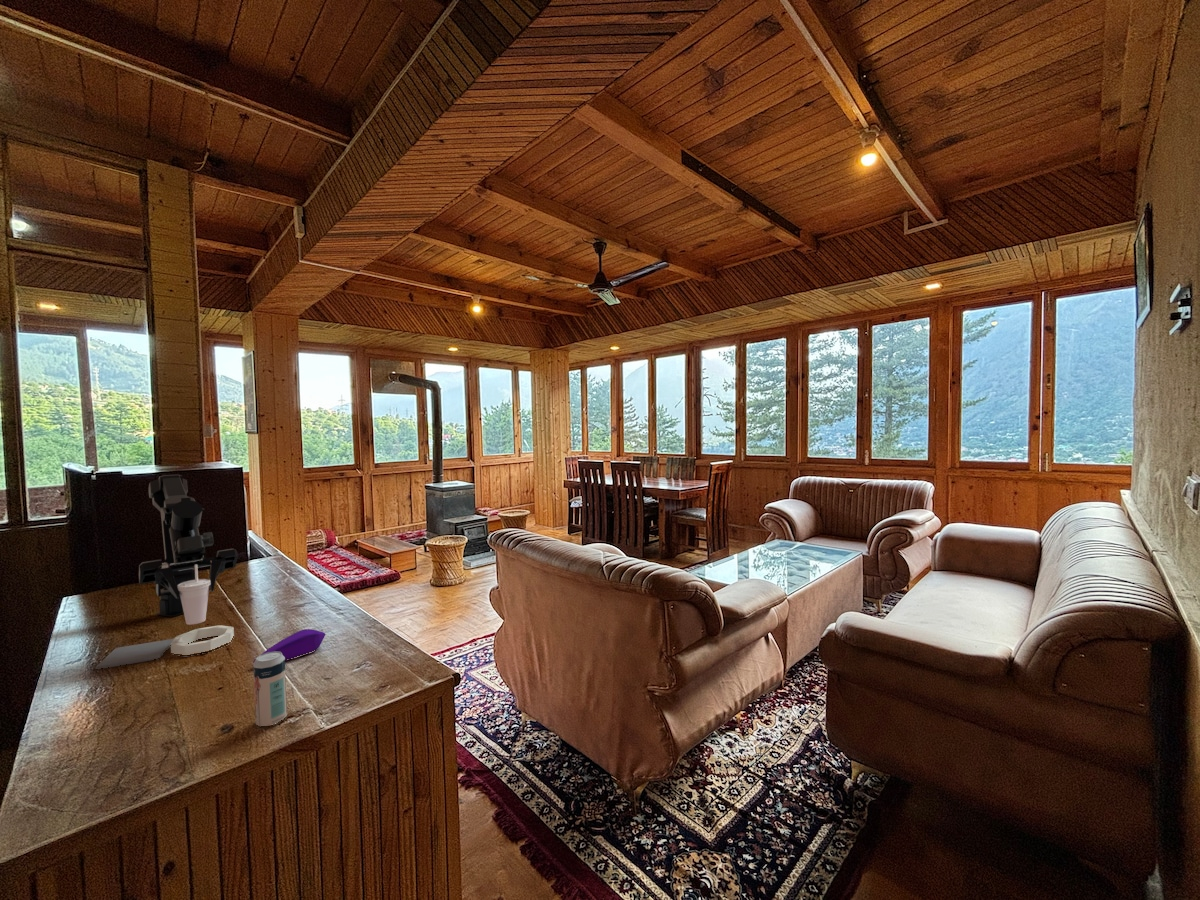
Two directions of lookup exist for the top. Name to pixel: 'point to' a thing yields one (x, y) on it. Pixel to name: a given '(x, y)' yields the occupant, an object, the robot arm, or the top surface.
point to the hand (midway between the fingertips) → (195, 594)
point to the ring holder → (184, 648)
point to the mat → (135, 654)
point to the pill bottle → (270, 688)
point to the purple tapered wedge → (298, 643)
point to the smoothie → (194, 598)
